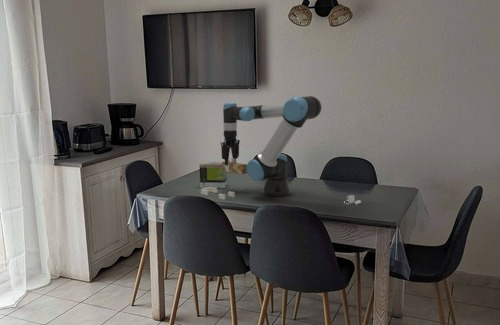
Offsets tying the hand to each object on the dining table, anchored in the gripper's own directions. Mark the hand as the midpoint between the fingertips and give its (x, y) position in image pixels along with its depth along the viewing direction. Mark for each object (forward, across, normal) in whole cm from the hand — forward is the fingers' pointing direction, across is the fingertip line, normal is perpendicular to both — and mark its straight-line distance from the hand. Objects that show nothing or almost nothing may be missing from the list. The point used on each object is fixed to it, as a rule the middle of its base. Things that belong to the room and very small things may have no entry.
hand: (230, 170), depth 286 cm
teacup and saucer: (+13, -24, +67) cm, 72 cm away
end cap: (+13, +12, -6) cm, 18 cm away
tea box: (+13, -1, -16) cm, 21 cm away
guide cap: (+13, +12, +9) cm, 19 cm away
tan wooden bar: (+1, 0, +3) cm, 3 cm away
